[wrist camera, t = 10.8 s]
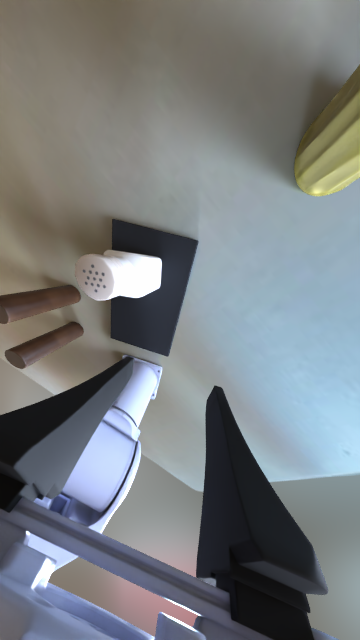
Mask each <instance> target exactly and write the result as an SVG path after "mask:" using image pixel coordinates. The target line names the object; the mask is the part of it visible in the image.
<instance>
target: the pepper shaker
mask: <svg viewBox="0 0 360 640" xmlns="http://www.w3.org/2000/svg"><path fill="white" fill-rule="evenodd" d="M161 268H162V262H161V259H160V258H159V257H155V256H148V255H142V254H135V253H128V252H121V251H114V250H107V251H105V252H104V254H103V255H100V254H88V255H83V256H81V257H80V258H79V260H78V261H77V263H76V264H75V277H76V279H77V282H78V284H79V287H80V288H81V289H82V290H83V291H84V292H85V293H86V295H87V296H89V297H91V298H93V299H95V300H98V301H100V300H108V299H111V298H113V297H117V296H119V295H121V296H126V297H133V298H139V297H142V296H144V295H146V294H148V293H150V292H152V291H154V290H156V289H158V288H159V287H160V283H161Z"/></svg>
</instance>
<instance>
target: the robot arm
mask: <svg viewBox="0 0 360 640" xmlns="http://www.w3.org/2000/svg"><path fill="white" fill-rule="evenodd" d="M161 373H162V367H161V366H158V365H155V364H152V363H149V362H146V361H143V360H140V359H137V358H134V357H131V356H128V355H123V357H122V360H120V361H119V362H117V363H116V364H114V365H113V366H111V367H110V368H108V369H106V370H105V371H103V372H102V373H100V374H98V375H96V376H95V377H93V378H91V379H89V380H87V381H85V382H84V383H82V384H80V385H78V386H75V387H73V388H71V389H69V390H67V391H65V392H62V393H60V394H58V395H55V396H53V397H50V398H48V399H45V400H43V401H40V402H38V403H35V404H33V405H30V406H27V407H24V408H21V409H18V410H15V411H12V412H9V413H6V414H3V415H0V640H339V639H337V638H335V637H332V636H330V635H328V634H326V633H324V632H321V631H319V630H316V629H314V628H311V626H310V623H309V619H308V616H307V612H308V613H310V607H309V604H308V600H307V597H306V594H318V595H324V594H327V593H328V587H327V584H326V581H325V578H324V576H323V573H322V570H321V567H320V564H319V562H318V559H317V557H316V554H315V552H314V549H313V547H312V545H311V543H310V542H309V540H308V539H307V537H306V536H305V535H304V533H303V532H302V531H301V529H300V528H299V526H298V525H297V523H296V522H295V520H294V519H293V518H292V516H291V515H290V513H289V512H288V511H287V509H286V508H285V506H284V505H283V503H282V502H281V500H280V499H279V497H278V496H277V494H276V493H275V491H274V489H273V488H272V486H271V485H270V483H269V481H268V480H267V478H266V477H265V475H264V473H263V472H262V470H261V468H260V467H259V465H258V463H257V462H256V460H255V458H254V456H253V455H252V453H251V451H250V449H249V447H248V445H247V443H246V441H245V440H244V438H243V436H242V433H241V431H240V429H239V427H238V425H237V423H236V421H235V418H234V416H233V414H232V411H231V409H230V407H229V404H228V402H227V399H226V396H225V394H224V391H223V389H222V388H221V387H218V386H214V388H213V390H212V392H211V394H210V395H209V397H208V399H207V404H206V464H205V480H204V493H203V505H202V516H201V526H200V536H199V545H198V554H197V569H196V577H193V576H191V575H189V574H187V573H185V572H183V571H180V570H178V569H176V568H174V567H172V566H170V565H167V564H165V563H163V562H161V561H159V560H157V559H154V558H152V557H150V556H148V555H146V554H144V553H142V552H140V551H137V550H135V549H133V548H131V547H129V546H127V545H124V544H122V543H120V542H118V541H116V540H114V539H112V538H109V537H107V536H105V535H103V534H101V533H102V531H103V530H104V528H105V526H106V524H107V523H108V521H109V519H110V518H111V516H112V514H113V513H114V511H115V510H116V509H117V508H118V506H119V505H120V504H121V502H122V501H123V499H124V498H125V496H126V494H127V492H128V490H129V488H130V486H131V484H132V482H133V479H134V477H135V474H136V471H137V469H138V465H139V461H140V456H141V444H140V441H139V440H137V439H138V436H139V434H140V430H139V429H138V426H139V424H140V421H141V419H142V416H143V414H144V412H145V409H146V407H147V405H148V402H149V400H150V399H155V397H156V393H157V389H158V385H159V381H160V377H161ZM77 557H80V558H83V559H85V560H87V561H89V562H91V563H93V564H95V565H97V566H99V567H101V568H103V569H105V570H107V571H109V572H111V573H113V574H115V575H117V576H120V577H122V578H124V579H126V580H128V581H130V582H132V583H134V584H136V585H138V586H140V587H142V588H145V589H146V590H148V591H150V592H152V593H155V594H157V595H159V596H161V597H163V598H165V599H167V600H169V601H171V602H173V603H175V604H177V605H179V606H181V607H183V608H185V609H187V610H189V611H191V612H193V613H196V614H198V615H200V616H198V617H197V618H196V620H195V623H194V626H193V627H190V626H188V625H186V624H184V623H182V622H180V621H178V620H176V619H174V618H172V617H170V616H168V615H166V614H164V613H162V612H160V613H159V614H158V620H157V627H156V635H155V637H153V636H151V635H150V634H148V633H146V632H144V631H143V630H141V629H139V628H137V627H135V626H133V625H132V624H130V623H128V622H126V621H125V620H123V619H121V618H119V617H117V616H115V615H114V614H112V613H110V612H108V611H106V610H104V609H102V608H100V607H98V606H96V605H94V604H92V603H90V602H88V601H86V600H84V599H82V598H80V597H78V596H76V595H74V594H72V593H70V592H67V591H65V590H63V589H61V588H59V587H57V586H55V585H53V584H50V583H48V579H49V577H50V575H51V573H52V572H53V571H55V570H56V569H58V568H60V567H61V566H63V565H65V564H67V563H68V562H70V561H72V560H74V559H75V558H77ZM206 582H207V583H206ZM208 583H209V584H208Z"/></svg>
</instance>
